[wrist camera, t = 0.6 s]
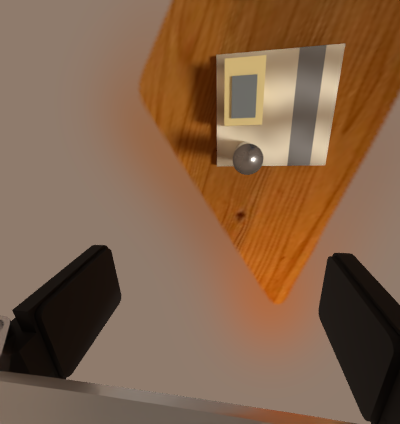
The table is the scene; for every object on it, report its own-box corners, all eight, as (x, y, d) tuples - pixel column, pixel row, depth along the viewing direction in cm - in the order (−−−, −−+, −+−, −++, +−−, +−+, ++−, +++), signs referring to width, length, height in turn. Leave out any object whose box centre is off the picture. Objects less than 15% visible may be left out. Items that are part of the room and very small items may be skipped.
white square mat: (217, 57, 29) (216, 55, 28) (341, 46, 26) (345, 43, 25) (217, 165, 33) (217, 166, 33) (322, 164, 31) (325, 165, 30)
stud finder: (226, 68, 28) (224, 57, 24) (262, 65, 27) (266, 54, 23) (225, 126, 30) (224, 125, 26) (258, 125, 30) (262, 124, 26)
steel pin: (233, 140, 31) (232, 144, 23) (256, 139, 30) (264, 143, 22) (233, 163, 32) (232, 174, 24) (255, 163, 32) (262, 174, 23)
